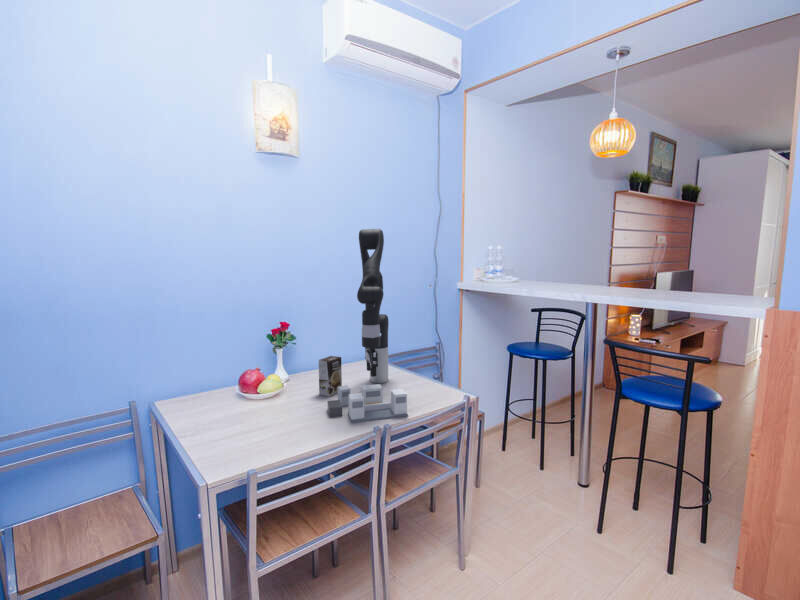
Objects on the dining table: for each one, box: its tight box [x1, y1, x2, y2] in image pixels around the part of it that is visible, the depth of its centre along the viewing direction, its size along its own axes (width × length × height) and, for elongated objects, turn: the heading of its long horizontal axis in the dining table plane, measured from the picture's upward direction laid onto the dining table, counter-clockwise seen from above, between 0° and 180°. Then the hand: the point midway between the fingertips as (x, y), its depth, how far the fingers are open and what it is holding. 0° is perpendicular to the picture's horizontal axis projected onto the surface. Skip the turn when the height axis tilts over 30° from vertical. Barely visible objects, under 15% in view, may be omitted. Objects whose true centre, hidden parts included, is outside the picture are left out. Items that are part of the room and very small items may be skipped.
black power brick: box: [327, 399, 343, 418], centre depth 166 cm, size 8×5×4 cm, turn 15°
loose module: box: [360, 383, 384, 405], centre depth 173 cm, size 5×8×8 cm, turn 105°
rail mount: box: [347, 388, 409, 424], centre depth 163 cm, size 9×22×9 cm, turn 105°
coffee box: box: [318, 355, 343, 397], centre depth 188 cm, size 9×6×16 cm
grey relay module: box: [337, 384, 351, 407], centre depth 175 cm, size 5×4×7 cm
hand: (371, 373), depth 172 cm, fingers open, 8 cm apart
